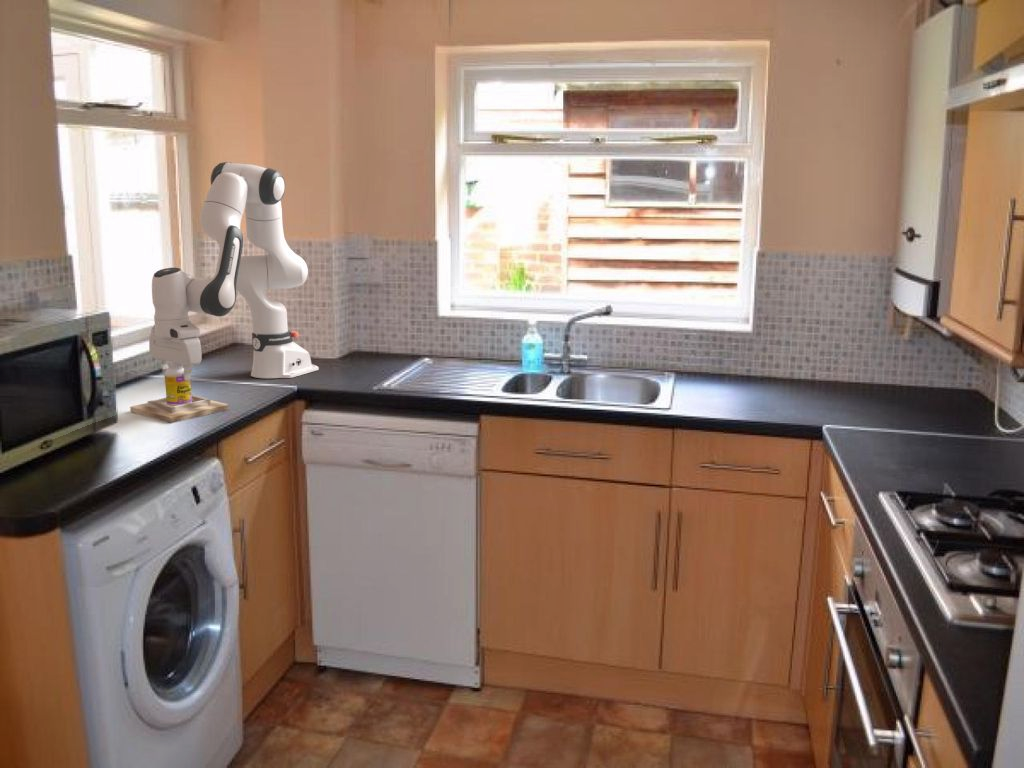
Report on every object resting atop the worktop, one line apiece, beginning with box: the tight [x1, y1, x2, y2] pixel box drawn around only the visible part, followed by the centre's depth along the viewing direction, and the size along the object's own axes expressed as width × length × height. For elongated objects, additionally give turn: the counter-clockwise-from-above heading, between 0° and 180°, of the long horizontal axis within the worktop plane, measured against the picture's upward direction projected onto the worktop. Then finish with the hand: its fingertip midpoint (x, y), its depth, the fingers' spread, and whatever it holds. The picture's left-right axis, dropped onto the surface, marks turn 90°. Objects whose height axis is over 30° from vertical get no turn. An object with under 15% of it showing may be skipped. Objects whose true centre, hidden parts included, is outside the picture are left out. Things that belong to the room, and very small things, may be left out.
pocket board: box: [129, 394, 230, 424], centre depth 257 cm, size 18×20×3 cm
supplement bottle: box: [163, 361, 192, 406], centre depth 256 cm, size 7×7×13 cm
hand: (176, 377), depth 256 cm, fingers open, 8 cm apart
